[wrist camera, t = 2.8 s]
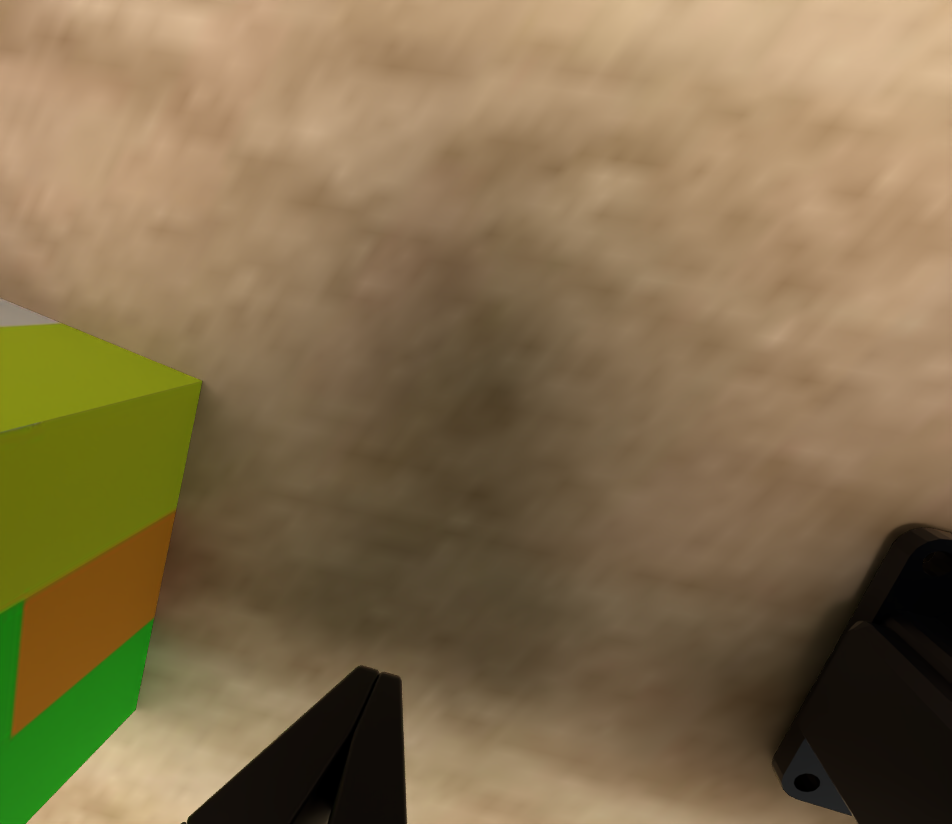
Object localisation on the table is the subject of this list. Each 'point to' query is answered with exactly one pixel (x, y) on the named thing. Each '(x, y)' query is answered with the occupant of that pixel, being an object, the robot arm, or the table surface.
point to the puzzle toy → (78, 541)
